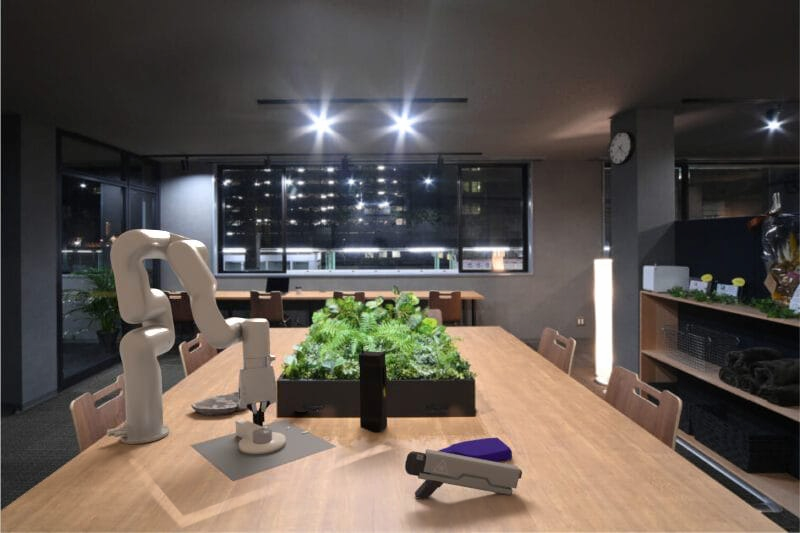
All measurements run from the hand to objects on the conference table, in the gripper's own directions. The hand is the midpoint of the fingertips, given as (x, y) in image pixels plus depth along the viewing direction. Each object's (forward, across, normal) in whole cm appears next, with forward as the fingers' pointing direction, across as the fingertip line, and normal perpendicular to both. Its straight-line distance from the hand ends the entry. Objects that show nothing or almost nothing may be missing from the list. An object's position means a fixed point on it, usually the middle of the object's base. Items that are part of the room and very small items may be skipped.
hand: (258, 425), depth 140 cm
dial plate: (+3, +2, +11) cm, 12 cm away
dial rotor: (+2, +2, +8) cm, 9 cm away
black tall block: (+4, -31, +12) cm, 34 cm away
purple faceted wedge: (+4, -41, +42) cm, 59 cm away
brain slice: (+4, +4, -32) cm, 32 cm away
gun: (+4, -30, +57) cm, 65 cm away
